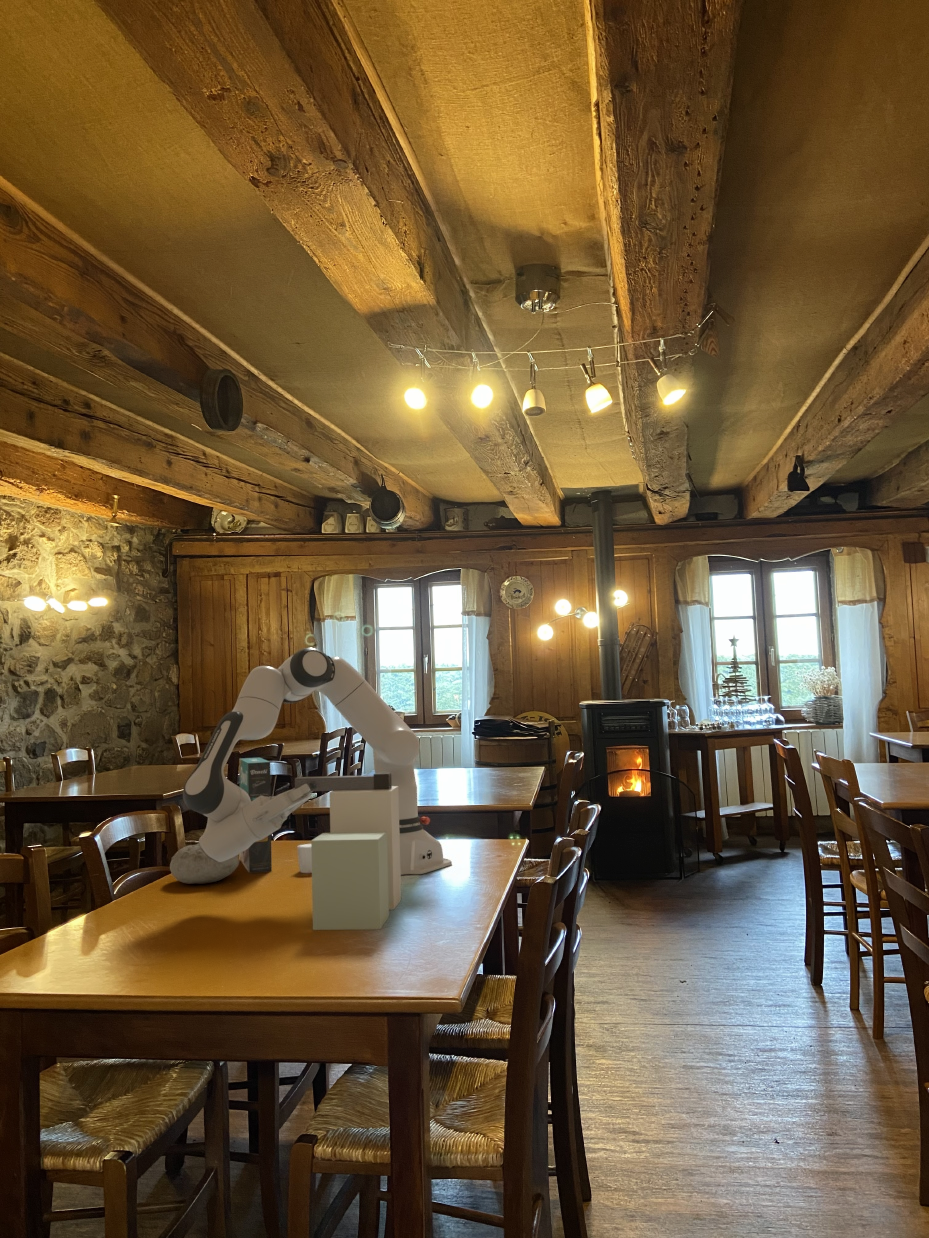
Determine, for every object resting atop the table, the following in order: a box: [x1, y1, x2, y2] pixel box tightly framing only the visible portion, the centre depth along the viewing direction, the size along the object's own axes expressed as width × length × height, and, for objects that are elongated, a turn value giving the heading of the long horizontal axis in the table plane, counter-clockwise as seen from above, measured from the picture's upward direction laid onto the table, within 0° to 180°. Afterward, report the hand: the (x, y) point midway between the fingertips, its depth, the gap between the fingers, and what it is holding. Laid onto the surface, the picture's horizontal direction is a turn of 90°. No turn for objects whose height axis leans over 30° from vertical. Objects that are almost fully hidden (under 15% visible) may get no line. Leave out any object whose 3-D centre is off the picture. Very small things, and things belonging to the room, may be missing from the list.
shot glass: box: [296, 842, 312, 874], centre depth 241 cm, size 7×7×7 cm
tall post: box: [329, 786, 402, 911], centre depth 201 cm, size 14×10×26 cm
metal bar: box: [294, 772, 392, 792], centre depth 202 cm, size 22×4×4 cm, turn 85°
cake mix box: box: [238, 757, 273, 874], centre depth 253 cm, size 22×6×30 cm, turn 21°
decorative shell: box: [169, 843, 241, 885], centre depth 232 cm, size 18×18×10 cm
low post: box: [311, 832, 390, 931], centre depth 184 cm, size 14×10×18 cm
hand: (314, 783), depth 203 cm, fingers open, 8 cm apart
